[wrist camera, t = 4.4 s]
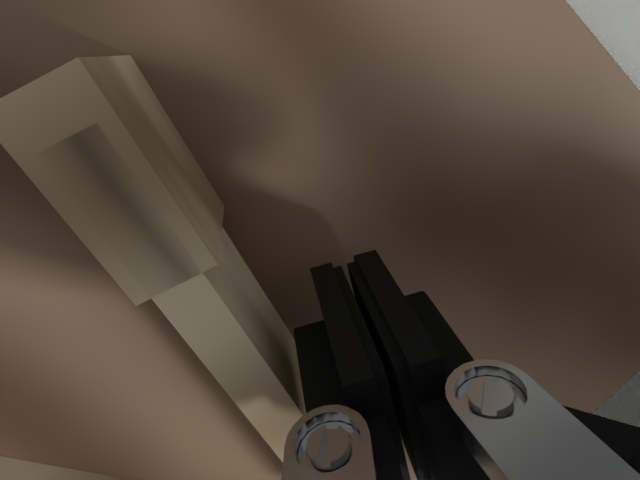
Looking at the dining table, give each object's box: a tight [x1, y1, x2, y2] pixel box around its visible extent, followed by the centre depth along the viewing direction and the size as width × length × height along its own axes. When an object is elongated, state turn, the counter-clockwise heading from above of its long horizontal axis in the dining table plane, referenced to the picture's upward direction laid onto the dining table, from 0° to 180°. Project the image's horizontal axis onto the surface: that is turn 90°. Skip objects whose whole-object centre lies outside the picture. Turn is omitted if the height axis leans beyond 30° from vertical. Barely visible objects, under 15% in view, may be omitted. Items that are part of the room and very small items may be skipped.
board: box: [0, 0, 640, 480], centre depth 12 cm, size 21×22×1 cm
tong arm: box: [0, 55, 306, 462], centre depth 10 cm, size 15×2×3 cm, turn 25°
